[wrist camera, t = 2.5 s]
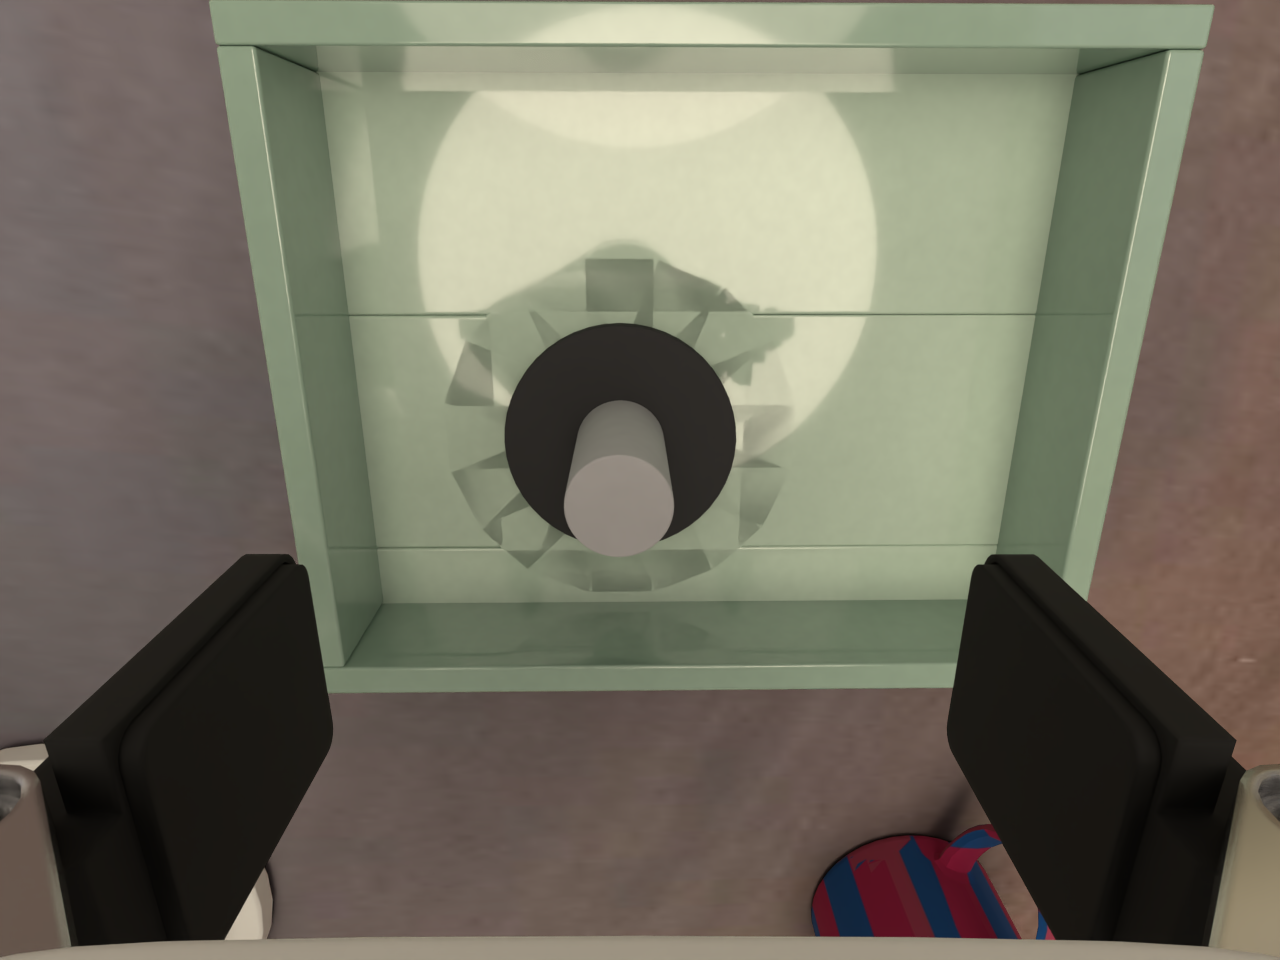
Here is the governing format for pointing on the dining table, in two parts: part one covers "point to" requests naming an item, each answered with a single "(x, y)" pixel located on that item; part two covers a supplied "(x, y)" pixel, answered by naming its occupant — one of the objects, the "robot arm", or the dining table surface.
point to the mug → (916, 891)
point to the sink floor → (699, 312)
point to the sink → (702, 43)
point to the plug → (620, 437)
